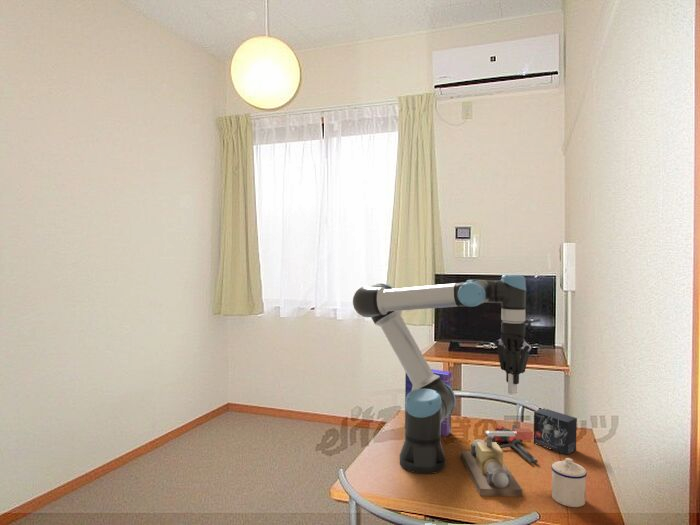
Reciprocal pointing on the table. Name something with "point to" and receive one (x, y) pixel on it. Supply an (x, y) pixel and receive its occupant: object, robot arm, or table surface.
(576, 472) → the white lidded jar
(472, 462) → the valve stand
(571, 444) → the small box
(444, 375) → the cereal box
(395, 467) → the table surface
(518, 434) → the valve lever
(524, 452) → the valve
